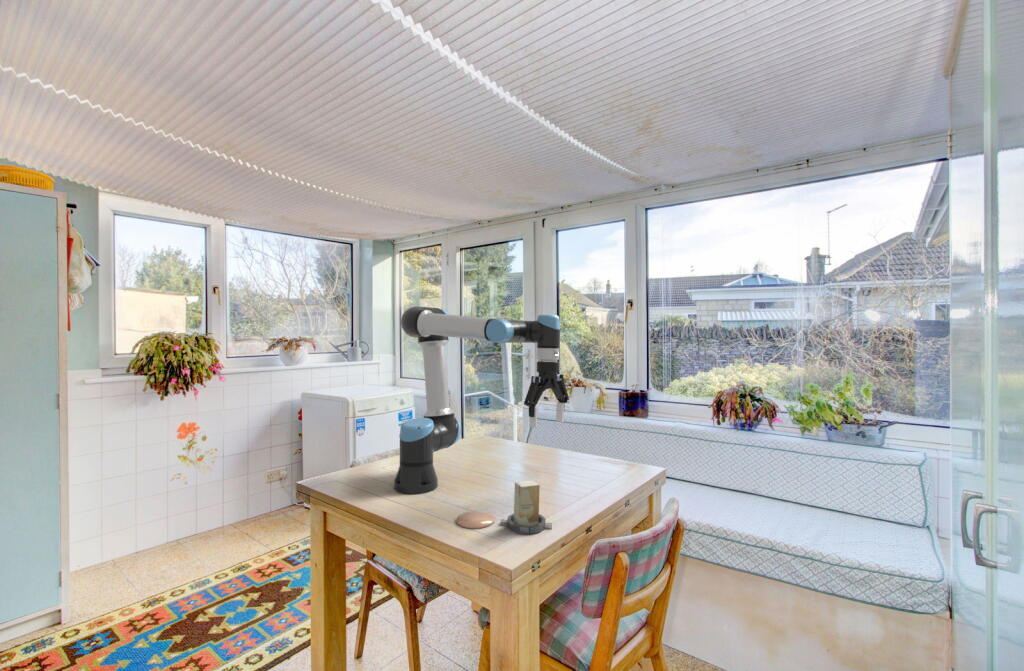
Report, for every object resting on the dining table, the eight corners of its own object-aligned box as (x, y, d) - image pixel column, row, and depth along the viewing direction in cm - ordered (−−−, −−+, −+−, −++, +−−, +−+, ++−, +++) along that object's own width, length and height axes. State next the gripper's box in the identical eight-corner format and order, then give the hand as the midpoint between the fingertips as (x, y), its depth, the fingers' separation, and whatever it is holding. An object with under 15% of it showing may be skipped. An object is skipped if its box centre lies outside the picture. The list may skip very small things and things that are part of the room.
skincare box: (519, 530, 126) (519, 486, 126) (512, 524, 130) (513, 482, 130) (539, 527, 128) (540, 484, 128) (533, 521, 132) (533, 479, 132)
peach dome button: (452, 527, 127) (452, 525, 127) (461, 512, 138) (461, 510, 138) (490, 530, 126) (490, 528, 126) (497, 514, 137) (497, 512, 137)
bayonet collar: (498, 532, 125) (498, 525, 125) (503, 516, 135) (503, 510, 135) (550, 535, 123) (551, 529, 123) (552, 519, 133) (552, 513, 133)
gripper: (530, 362, 140) (529, 431, 140) (579, 360, 157) (578, 421, 157) (513, 361, 145) (512, 427, 145) (562, 359, 163) (561, 418, 163)
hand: (547, 424), depth 151 cm, fingers open, 13 cm apart
